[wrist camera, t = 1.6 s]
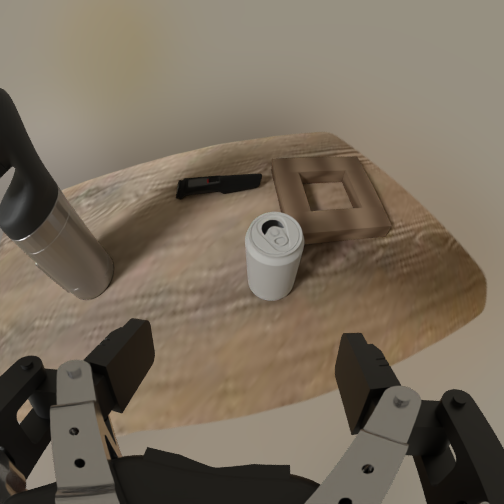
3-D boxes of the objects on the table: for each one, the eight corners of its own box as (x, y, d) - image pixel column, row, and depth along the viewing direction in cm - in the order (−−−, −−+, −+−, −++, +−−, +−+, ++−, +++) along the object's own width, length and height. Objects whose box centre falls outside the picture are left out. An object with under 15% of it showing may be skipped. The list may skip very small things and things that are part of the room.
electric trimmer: (262, 194, 48) (263, 181, 45) (176, 201, 47) (172, 189, 44) (260, 180, 50) (260, 167, 47) (178, 186, 49) (174, 174, 46)
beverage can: (281, 255, 41) (289, 201, 30) (301, 292, 37) (317, 246, 27) (241, 270, 39) (235, 218, 29) (258, 309, 36) (259, 268, 26)
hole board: (288, 246, 41) (290, 234, 39) (271, 170, 50) (272, 158, 48) (385, 236, 42) (391, 225, 39) (353, 167, 51) (357, 156, 48)
